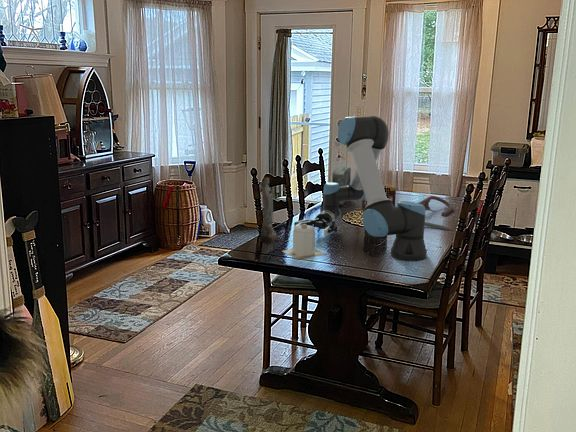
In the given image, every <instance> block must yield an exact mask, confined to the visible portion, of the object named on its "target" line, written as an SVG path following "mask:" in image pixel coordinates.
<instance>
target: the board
mask: <svg viewBox="0 0 576 432" xmlns="http://www.w3.org/2000/svg"><path fill="white" fill-rule="evenodd" d="M281 252H282V253H284V254H286V255H288V256H290V257H293V258H295V259H296V260H299V261H301V260H307V259H312V258H315V257H316V258H317V257H320V256H325V255H327V253H325V252H322V251H320V250H318V249H316V248H315V253H314V254H313V255H309V256H300V255H296V254H294V253H293V248H289V249H284V250H281Z"/></svg>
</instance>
